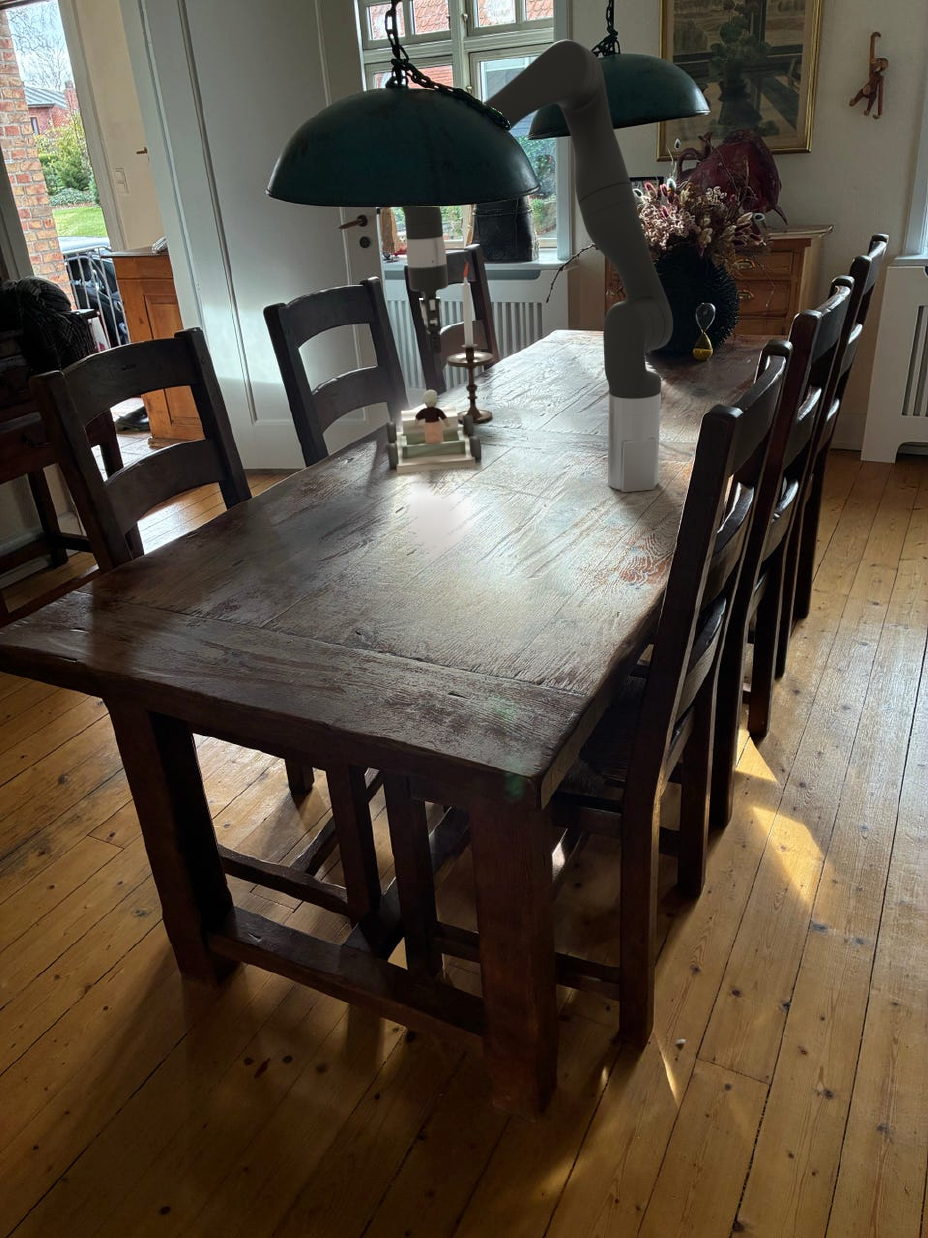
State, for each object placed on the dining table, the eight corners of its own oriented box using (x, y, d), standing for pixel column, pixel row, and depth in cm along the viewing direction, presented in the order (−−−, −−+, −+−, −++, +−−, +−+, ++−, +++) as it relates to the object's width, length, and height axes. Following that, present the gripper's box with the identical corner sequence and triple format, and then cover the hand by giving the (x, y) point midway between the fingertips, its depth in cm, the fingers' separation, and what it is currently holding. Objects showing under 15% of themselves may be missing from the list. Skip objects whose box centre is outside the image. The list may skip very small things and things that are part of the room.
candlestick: (497, 411, 222) (490, 257, 206) (494, 424, 213) (487, 264, 196) (453, 413, 224) (442, 260, 207) (448, 425, 214) (437, 266, 198)
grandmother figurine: (452, 446, 195) (448, 386, 189) (451, 451, 192) (447, 391, 186) (416, 448, 196) (411, 388, 190) (415, 453, 192) (409, 393, 186)
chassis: (482, 465, 187) (481, 434, 184) (389, 473, 186) (386, 442, 183) (471, 432, 208) (470, 403, 205) (388, 439, 207) (385, 411, 204)
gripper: (449, 265, 170) (456, 354, 178) (443, 257, 183) (449, 340, 190) (409, 268, 170) (417, 357, 177) (406, 260, 182) (413, 343, 190)
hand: (434, 348), depth 184 cm, fingers open, 8 cm apart
